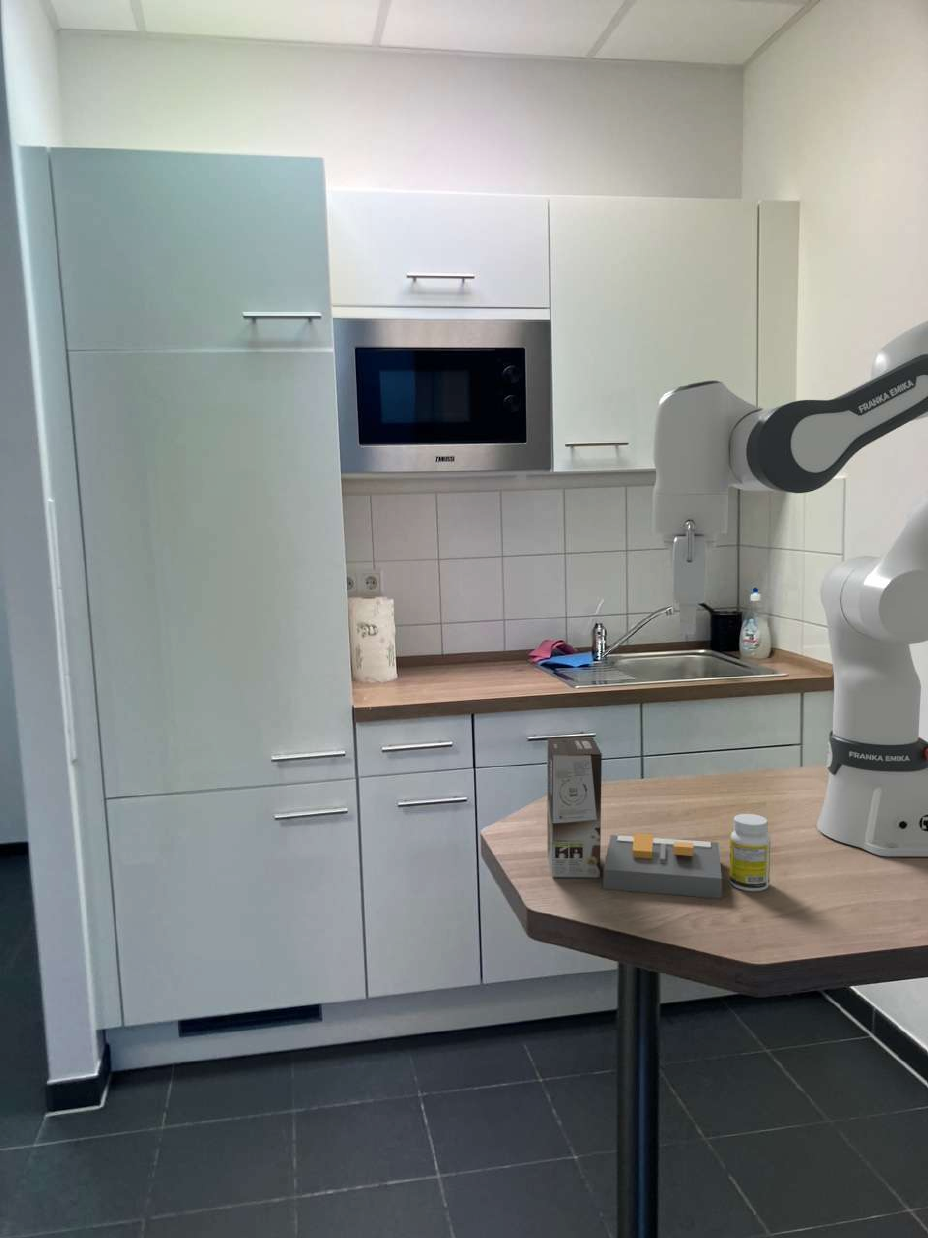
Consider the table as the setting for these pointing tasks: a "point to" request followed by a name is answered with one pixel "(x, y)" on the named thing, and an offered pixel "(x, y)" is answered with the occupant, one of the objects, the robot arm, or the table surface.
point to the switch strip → (664, 868)
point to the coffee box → (574, 806)
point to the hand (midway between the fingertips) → (687, 633)
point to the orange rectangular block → (683, 848)
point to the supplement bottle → (750, 853)
